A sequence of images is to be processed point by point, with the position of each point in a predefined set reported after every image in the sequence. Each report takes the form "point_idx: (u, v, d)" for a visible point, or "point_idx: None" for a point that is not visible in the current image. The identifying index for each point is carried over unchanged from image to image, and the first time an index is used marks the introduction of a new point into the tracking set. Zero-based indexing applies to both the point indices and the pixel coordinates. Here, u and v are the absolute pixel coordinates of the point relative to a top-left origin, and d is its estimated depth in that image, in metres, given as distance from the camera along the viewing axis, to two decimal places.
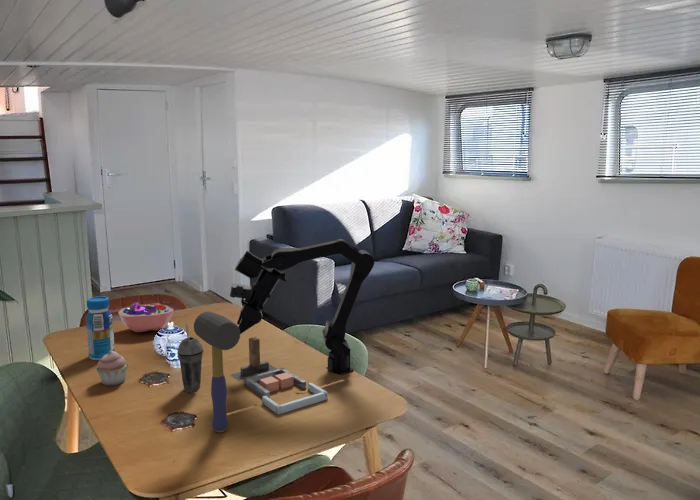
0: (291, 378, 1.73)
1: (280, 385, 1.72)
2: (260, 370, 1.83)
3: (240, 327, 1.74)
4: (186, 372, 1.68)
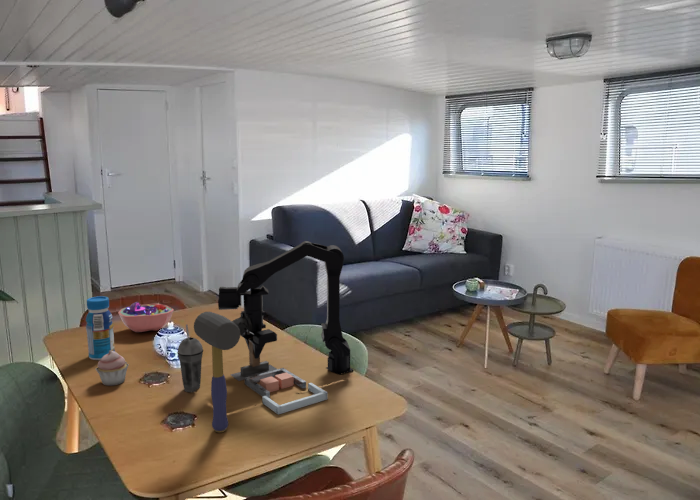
0: (291, 378, 1.73)
1: (280, 385, 1.72)
2: (260, 370, 1.83)
3: (256, 351, 1.80)
4: (186, 372, 1.68)
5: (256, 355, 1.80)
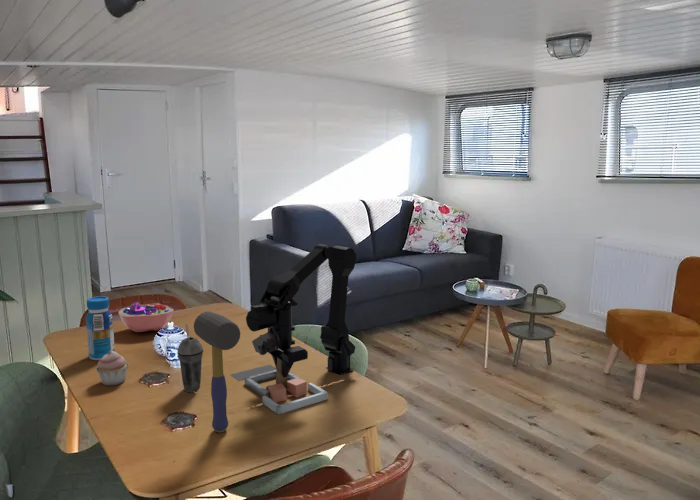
0: (304, 383, 1.69)
1: (294, 391, 1.67)
2: (286, 389, 1.71)
3: (285, 369, 1.66)
4: (186, 372, 1.68)
5: (284, 373, 1.67)
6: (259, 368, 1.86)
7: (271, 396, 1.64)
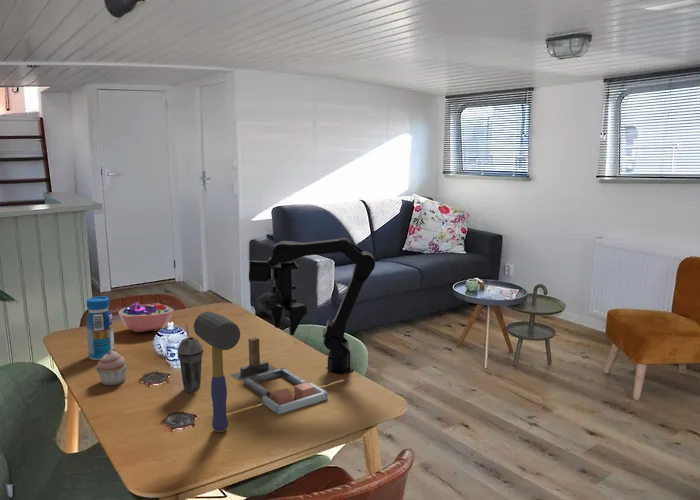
0: (312, 388, 1.66)
1: (301, 396, 1.65)
2: (260, 370, 1.83)
3: (292, 328, 1.79)
4: (186, 372, 1.68)
5: (291, 332, 1.79)
6: None
7: (277, 402, 1.61)
